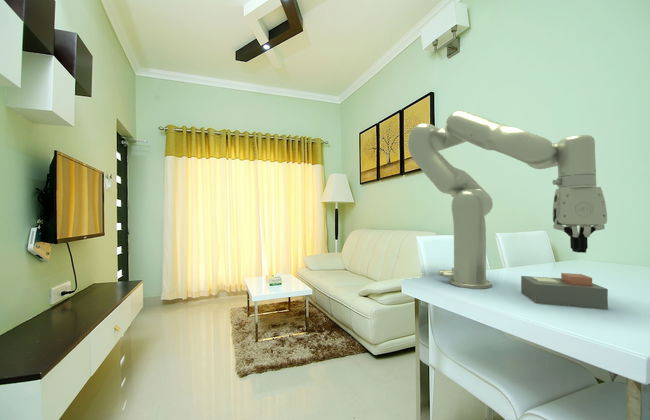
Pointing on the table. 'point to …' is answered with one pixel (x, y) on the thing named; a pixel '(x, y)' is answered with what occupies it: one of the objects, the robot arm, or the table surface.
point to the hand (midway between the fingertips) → (579, 251)
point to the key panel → (564, 293)
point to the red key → (576, 279)
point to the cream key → (545, 280)
